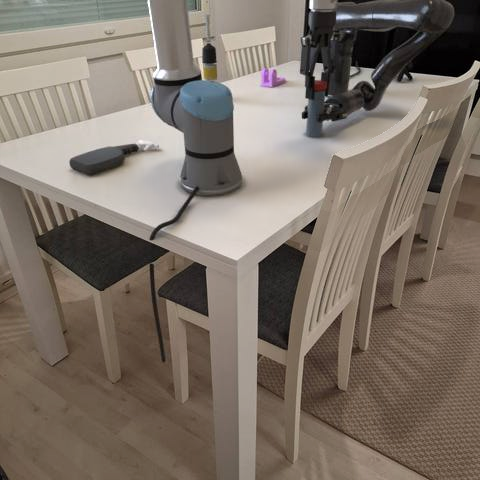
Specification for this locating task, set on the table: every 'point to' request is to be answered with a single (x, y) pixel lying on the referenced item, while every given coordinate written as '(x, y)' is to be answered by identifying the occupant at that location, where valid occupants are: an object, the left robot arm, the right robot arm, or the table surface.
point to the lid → (320, 85)
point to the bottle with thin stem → (209, 57)
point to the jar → (315, 114)
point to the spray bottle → (106, 157)
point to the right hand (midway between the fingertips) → (310, 117)
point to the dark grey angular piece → (405, 72)
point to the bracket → (270, 78)
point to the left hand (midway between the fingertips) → (316, 96)
